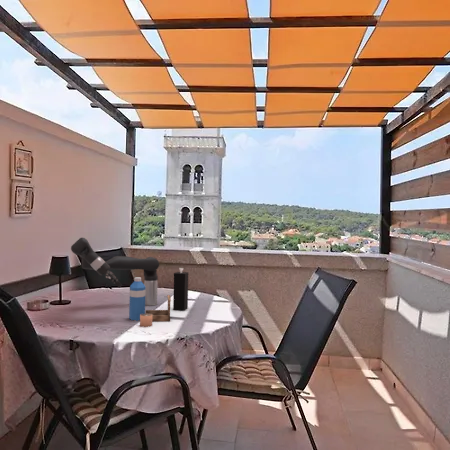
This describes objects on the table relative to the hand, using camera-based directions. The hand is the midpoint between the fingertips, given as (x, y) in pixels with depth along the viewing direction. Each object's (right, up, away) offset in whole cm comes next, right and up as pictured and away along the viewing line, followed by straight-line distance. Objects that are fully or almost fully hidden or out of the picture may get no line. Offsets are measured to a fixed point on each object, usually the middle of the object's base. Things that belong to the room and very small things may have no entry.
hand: (120, 286), depth 256 cm
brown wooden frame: (+21, -20, +4) cm, 30 cm away
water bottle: (+9, -20, +2) cm, 22 cm away
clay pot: (+17, -21, -12) cm, 29 cm away
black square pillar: (+33, -20, +30) cm, 49 cm away
